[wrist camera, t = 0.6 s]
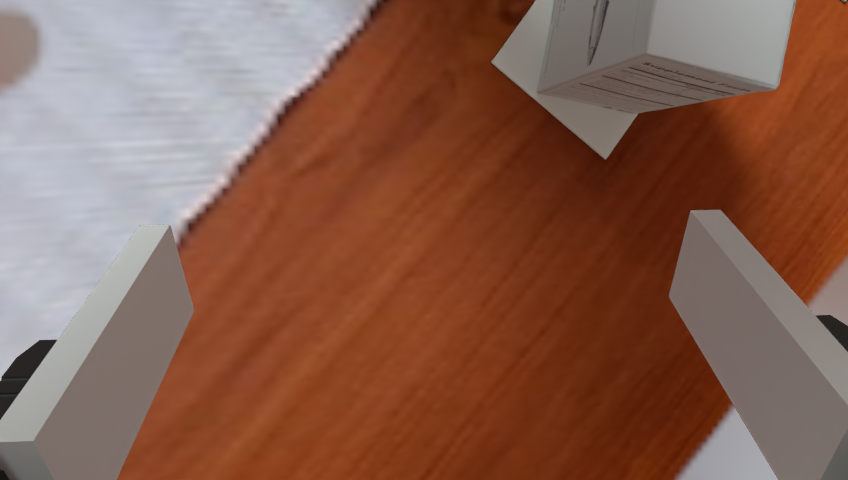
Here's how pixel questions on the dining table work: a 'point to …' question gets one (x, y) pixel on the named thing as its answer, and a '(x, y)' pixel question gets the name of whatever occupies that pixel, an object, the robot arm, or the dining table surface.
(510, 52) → the t mat
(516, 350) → the dining table surface
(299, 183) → the dining table surface
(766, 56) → the supplement box
